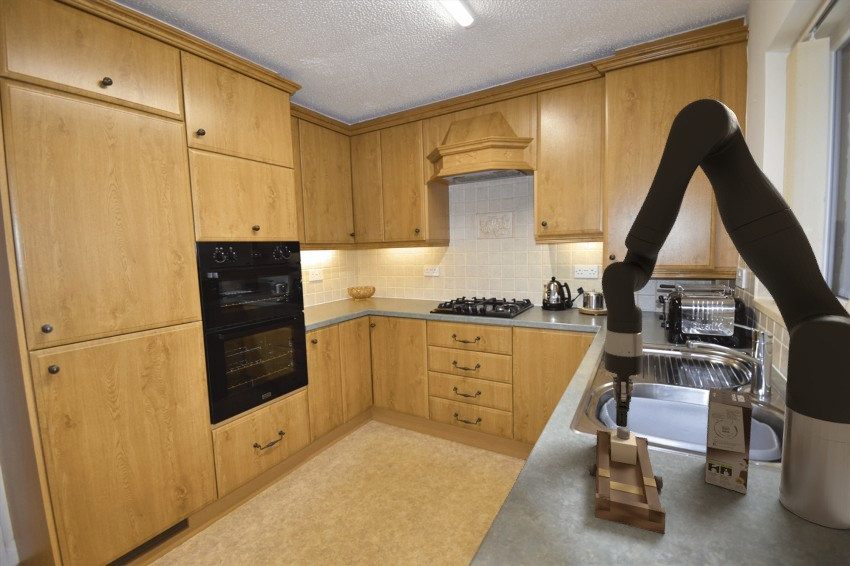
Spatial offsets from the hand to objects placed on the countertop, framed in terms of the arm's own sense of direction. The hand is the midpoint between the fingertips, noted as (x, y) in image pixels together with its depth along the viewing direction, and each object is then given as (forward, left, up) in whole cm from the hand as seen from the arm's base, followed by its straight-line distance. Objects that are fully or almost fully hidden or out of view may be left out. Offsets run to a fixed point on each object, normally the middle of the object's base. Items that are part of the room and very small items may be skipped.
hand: (621, 425), depth 89 cm
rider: (0, +9, -3) cm, 9 cm away
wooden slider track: (0, +16, -4) cm, 16 cm away
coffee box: (-18, +7, -5) cm, 20 cm away
